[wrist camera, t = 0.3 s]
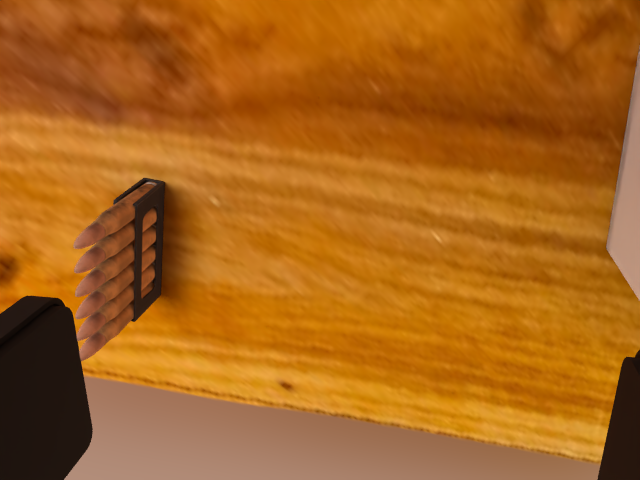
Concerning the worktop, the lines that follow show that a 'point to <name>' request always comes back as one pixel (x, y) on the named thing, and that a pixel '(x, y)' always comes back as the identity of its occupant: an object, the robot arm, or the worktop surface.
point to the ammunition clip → (120, 264)
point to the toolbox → (628, 197)
